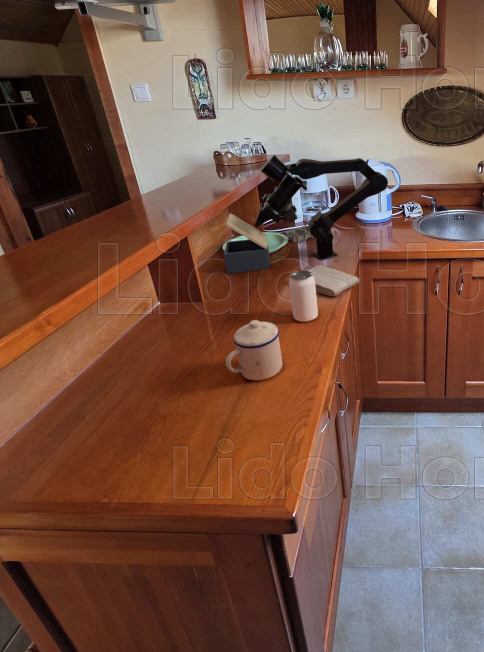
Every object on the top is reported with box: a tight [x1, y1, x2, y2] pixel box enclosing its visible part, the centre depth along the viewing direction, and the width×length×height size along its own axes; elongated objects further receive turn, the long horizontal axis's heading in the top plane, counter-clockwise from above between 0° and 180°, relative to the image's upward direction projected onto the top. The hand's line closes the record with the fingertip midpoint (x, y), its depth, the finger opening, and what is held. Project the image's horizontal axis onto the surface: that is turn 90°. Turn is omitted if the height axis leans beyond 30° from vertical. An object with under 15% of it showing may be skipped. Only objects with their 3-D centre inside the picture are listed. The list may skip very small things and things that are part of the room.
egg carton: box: [285, 224, 314, 243], centre depth 167 cm, size 11×8×4 cm
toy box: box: [223, 238, 271, 274], centre depth 143 cm, size 14×13×7 cm
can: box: [288, 270, 319, 323], centre depth 108 cm, size 6×6×12 cm
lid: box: [225, 213, 269, 249], centre depth 140 cm, size 14×13×1 cm
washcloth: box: [307, 264, 360, 297], centre depth 128 cm, size 12×18×3 cm, turn 54°
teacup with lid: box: [225, 319, 283, 381], centre depth 87 cm, size 12×9×12 cm
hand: (255, 226), depth 140 cm, fingers closed
